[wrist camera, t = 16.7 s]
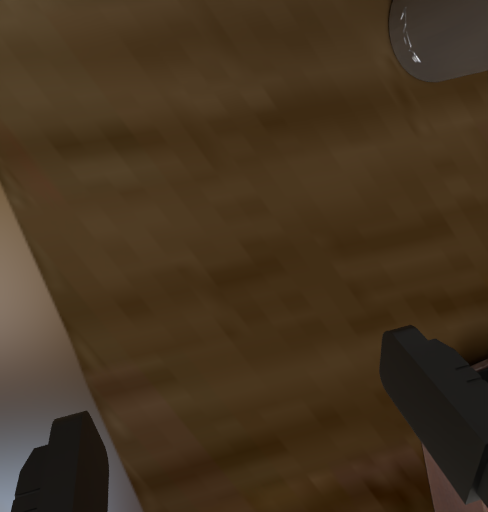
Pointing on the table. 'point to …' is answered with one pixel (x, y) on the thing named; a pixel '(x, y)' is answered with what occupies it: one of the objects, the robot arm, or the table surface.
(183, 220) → the table surface
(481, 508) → the letter holder
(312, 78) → the table surface
